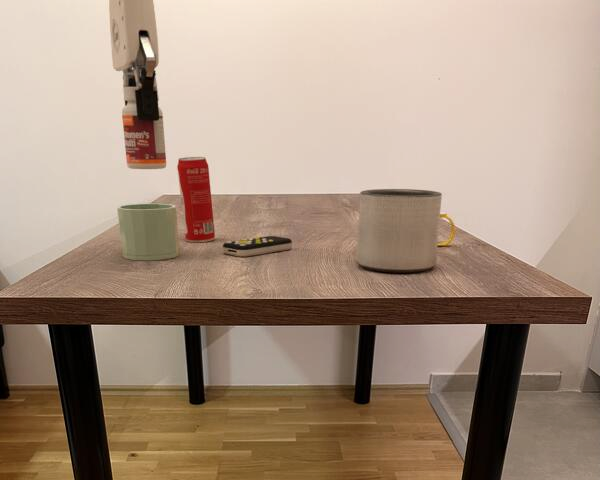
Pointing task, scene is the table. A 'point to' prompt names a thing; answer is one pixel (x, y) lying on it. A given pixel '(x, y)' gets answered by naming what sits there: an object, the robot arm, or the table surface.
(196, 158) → the beverage can
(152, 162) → the pill bottle
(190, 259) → the table surface
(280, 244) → the remote control
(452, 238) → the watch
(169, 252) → the holder
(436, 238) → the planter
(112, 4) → the robot arm
